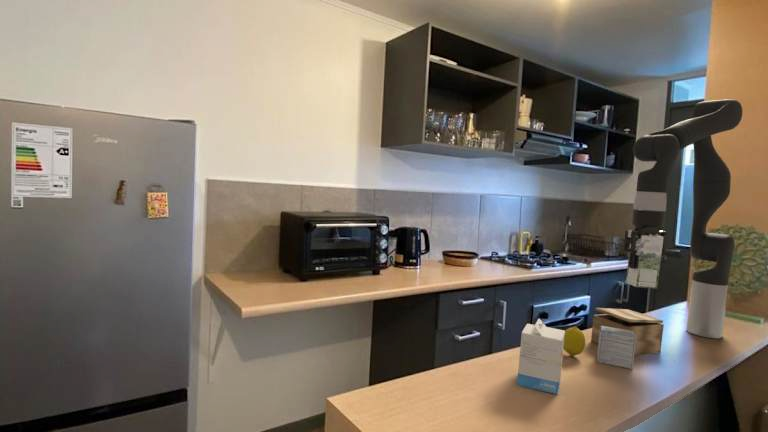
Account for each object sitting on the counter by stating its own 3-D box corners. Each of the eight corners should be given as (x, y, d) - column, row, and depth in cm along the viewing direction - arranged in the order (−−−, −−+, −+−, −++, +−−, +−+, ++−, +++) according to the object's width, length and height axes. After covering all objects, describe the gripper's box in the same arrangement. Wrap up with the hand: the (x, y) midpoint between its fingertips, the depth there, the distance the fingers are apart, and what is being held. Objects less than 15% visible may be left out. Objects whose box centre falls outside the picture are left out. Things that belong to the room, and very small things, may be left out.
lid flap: (628, 311, 126) (628, 309, 126) (662, 323, 117) (663, 320, 117) (595, 310, 121) (595, 307, 121) (628, 321, 112) (629, 319, 112)
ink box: (557, 395, 87) (564, 333, 86) (516, 384, 91) (521, 324, 90) (560, 380, 95) (566, 322, 94) (522, 370, 99) (527, 315, 98)
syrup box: (646, 284, 119) (651, 233, 118) (658, 289, 113) (664, 236, 112) (625, 282, 119) (630, 232, 118) (636, 287, 113) (641, 234, 112)
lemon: (557, 355, 109) (560, 325, 109) (565, 350, 113) (567, 321, 113) (579, 362, 106) (582, 331, 105) (586, 357, 110) (589, 327, 109)
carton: (625, 338, 127) (627, 312, 127) (660, 352, 117) (663, 324, 117) (590, 341, 122) (593, 314, 122) (624, 356, 112) (628, 327, 111)
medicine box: (630, 363, 107) (634, 330, 107) (633, 370, 103) (636, 336, 103) (596, 356, 111) (599, 324, 110) (597, 362, 107) (600, 329, 106)
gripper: (653, 208, 121) (647, 264, 122) (618, 207, 115) (612, 265, 116) (680, 210, 114) (673, 270, 115) (644, 209, 108) (638, 271, 109)
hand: (643, 267), depth 116 cm, fingers closed on syrup box, 7 cm apart
